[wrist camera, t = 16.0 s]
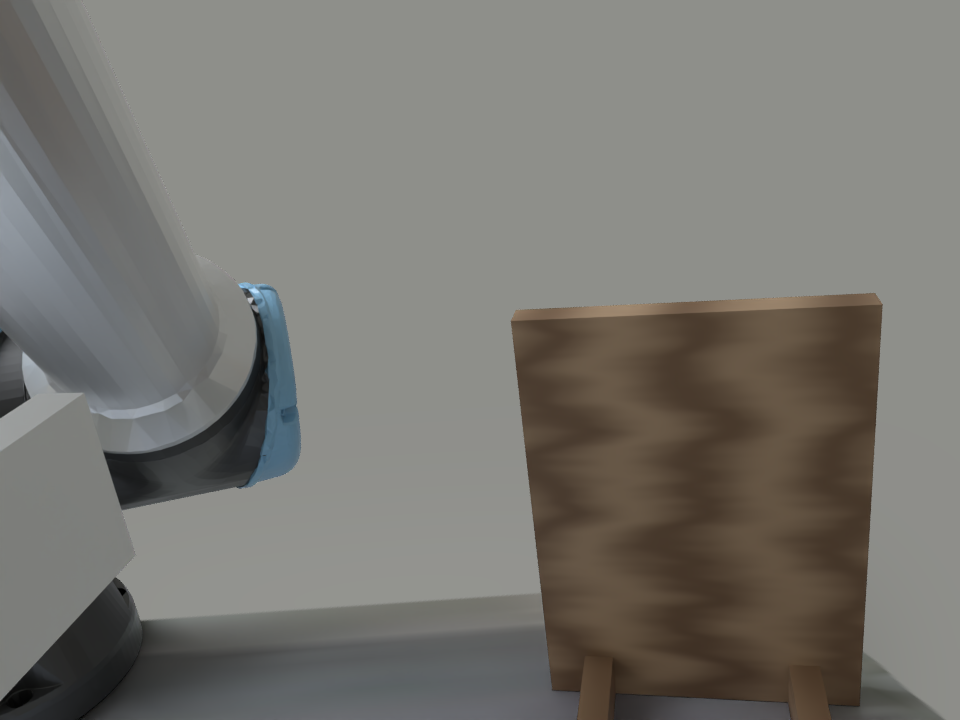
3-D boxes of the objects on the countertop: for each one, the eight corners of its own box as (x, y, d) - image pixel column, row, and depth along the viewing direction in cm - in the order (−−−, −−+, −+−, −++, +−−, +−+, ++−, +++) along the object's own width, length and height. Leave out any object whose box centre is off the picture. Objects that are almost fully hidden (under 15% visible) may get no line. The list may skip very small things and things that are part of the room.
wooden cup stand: (515, 914, 37) (446, 459, 29) (555, 670, 50) (516, 309, 42) (925, 960, 33) (981, 454, 25) (853, 685, 46) (874, 293, 38)
